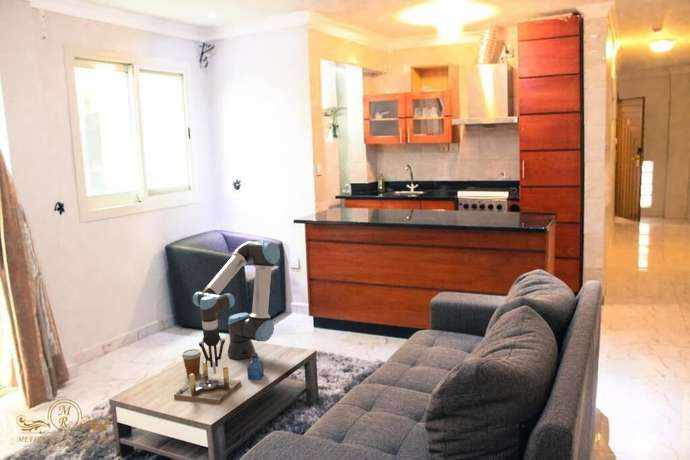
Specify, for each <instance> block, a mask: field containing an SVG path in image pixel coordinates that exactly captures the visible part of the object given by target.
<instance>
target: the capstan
mask: <svg viewBox="0 0 690 460" xmlns="http://www.w3.org/2000/svg"><path fill="white" fill-rule="evenodd" d="M201 365H202V367H201V368H202V377H203V379H204V381H202V382H200V383H199V387H198V388H196V385H195V378H196V376H195V374H189V376H188V377H189V383H190V389H191V395H195V394H196V393H198V392H200V391H211V390H214V389H216V388H217V387H218V388H229V380H230V378H229V377H230V375H229V367H223V368H222V373H223V374H222V377H223V379H224V383H218V381H217V380H214V379H209V378H208V377H209V369H208V361H206V359H205V360H202V361H201Z"/></svg>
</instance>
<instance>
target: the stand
mask: <svg viewBox="0 0 690 460" xmlns="http://www.w3.org/2000/svg"><path fill="white" fill-rule="evenodd" d="M208 378H209V379H214V380H217V381H218V383H224V378H219V377H209V376H208ZM202 381H204V379H203V376H201V375H200V376H199V375H197V376H195V385H196V388H198V387H199V383H200V382H202ZM241 385H242V381H241V380H237V379H229V388H218V387H217V388H216V389H214V390H211V391H200V392H198V393H196V394H195V395H191V389H190V382H189V383H187V384H185V385H184V386H183V387H182V388H179V390H177V391H176V392H175V393H174V394H173V399H176V400H183V401H190V402H191V401H192V402H200V403H209V404H214V405H220V404H221V403H223V402H224V401H225V400H226V399H227V398H228V397H229V396H230V395H231V394H232V393H234V391H236V390H237V389H238V388H239V387H240V386H241Z"/></svg>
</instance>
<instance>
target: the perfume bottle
mask: <svg viewBox="0 0 690 460" xmlns="http://www.w3.org/2000/svg"><path fill="white" fill-rule="evenodd" d="M250 358H251V361H250V362H249V364H248V366H247V368H246V369H247V379H248V380H251V381H260V380H262V379H263V377H264V376H265V371H264V362H262V360H261V359H259V355H258V353H255V354H252V356H251V357H250Z"/></svg>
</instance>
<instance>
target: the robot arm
mask: <svg viewBox="0 0 690 460" xmlns="http://www.w3.org/2000/svg"><path fill="white" fill-rule="evenodd" d="M280 251H281V250H280V247H279V246H278V244H277V243H275V242H273V241H269V240H256V239H251V240H248V241H245V242H243V243H241V245H239V246H237V248H235V250H234V251H232V253H231V255H230V258H229V259H228V260H227V262H226V263H225V264H224V265H223V266H222V268H221V269H220V270H219V271H218V272H217V273H216V275H214V277H213V278H212V279H211V281H210V282H209V283H208V284H207V285H206V286H205V288H204V289H203V290H202V291H196V292H195V293H194V294H193V296H192V303H193V304H194V305H195V306H197V307H200V315H201V325H202V334H203V335H202V336H203V338H202V340H201V341H199V342H198V346H199V347H200V348H201V350H202V354H203V356H204V358H205V360H206V361H207V362H209V364H210V368H212V372H213V375H216V374H217V367H218V366H219V363H218V362H219V360H222V355H223V349H224V345H225V343H226V340H225V338H222V337H221V336H220V330H219V329H220V328H219V322H218V321H219V320H218V319H219V318H218V314H219V313H222V312H225V311H227V310H229V309H230V308H233V307H234V306H235V303H236V300H235V297H234V295H233V294H231V293H229V292H228V293H224V294H221V292H223V290H224V288H226V286H227V285H228V284H229V283H230V282H231V281H232V279H233V278H234V277H235V275H236V274H237V273H238V272H239V271H240V269H241V268H242V267H244V266H246V265H247V264H248V263H250V262H253V263H252V265H253V267H254V268H255V273H254V283H253V284H254V285H253V297H252V310H251V313H248V312H240V313H239V312H238V313H235V314H232V315H230V316H228V322H227V323H228V326H227V327H228V335H229V345H228V349H227V357H228V358H229V359H233V360H245V359H248V358H251V357H252V354H256V349H255V346H254V343H253V341H256V342H261V343H262V342H263V343H264V342H267V341H269V340H270V339H271V337H273V334H274V331H275V324H274V323H273V321H271V315H270V314H269V305H270V294H271V279H272V278H271V277H272V269H274V268H275V267H276V266H275V265H276V263H278V262H279V260H280V258H281V252H280ZM219 343H220V346H219V352H218V349H217V345H218V344H219ZM205 345H206V346H207V347H208V352H207V350H206V348H205ZM212 347H213V352H212ZM213 353H214V354H213ZM213 355H214V359H213Z"/></svg>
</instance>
